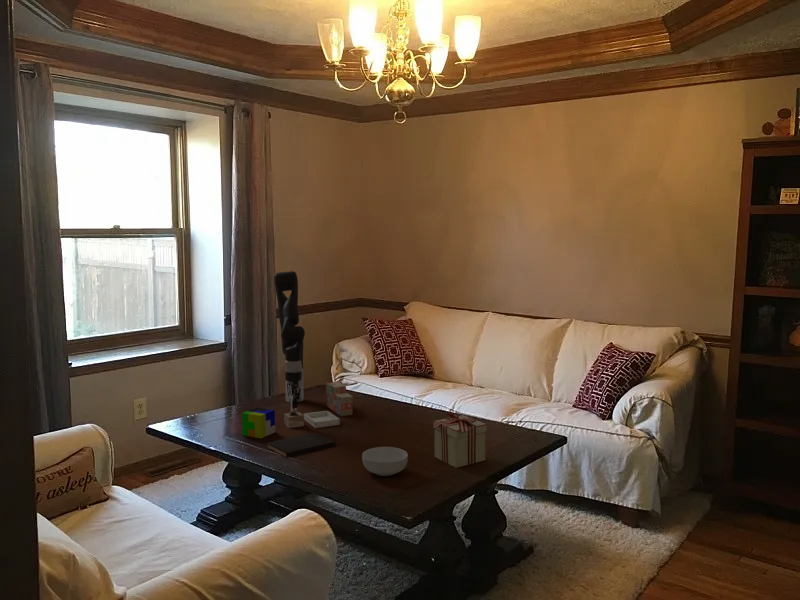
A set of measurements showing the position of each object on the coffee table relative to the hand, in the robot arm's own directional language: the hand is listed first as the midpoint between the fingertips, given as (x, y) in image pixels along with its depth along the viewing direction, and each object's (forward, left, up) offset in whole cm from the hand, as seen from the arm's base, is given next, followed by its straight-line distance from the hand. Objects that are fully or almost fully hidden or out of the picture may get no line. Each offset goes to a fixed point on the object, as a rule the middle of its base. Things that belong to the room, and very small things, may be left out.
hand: (293, 407), depth 306 cm
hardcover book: (+31, -7, -9) cm, 33 cm away
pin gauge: (0, 0, -4) cm, 4 cm away
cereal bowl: (+73, +11, -9) cm, 74 cm away
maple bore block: (0, 0, -8) cm, 8 cm away
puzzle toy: (+6, -18, -9) cm, 21 cm away
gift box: (+74, +42, -9) cm, 86 cm away
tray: (+1, +13, -8) cm, 16 cm away
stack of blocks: (-14, +28, -9) cm, 33 cm away
